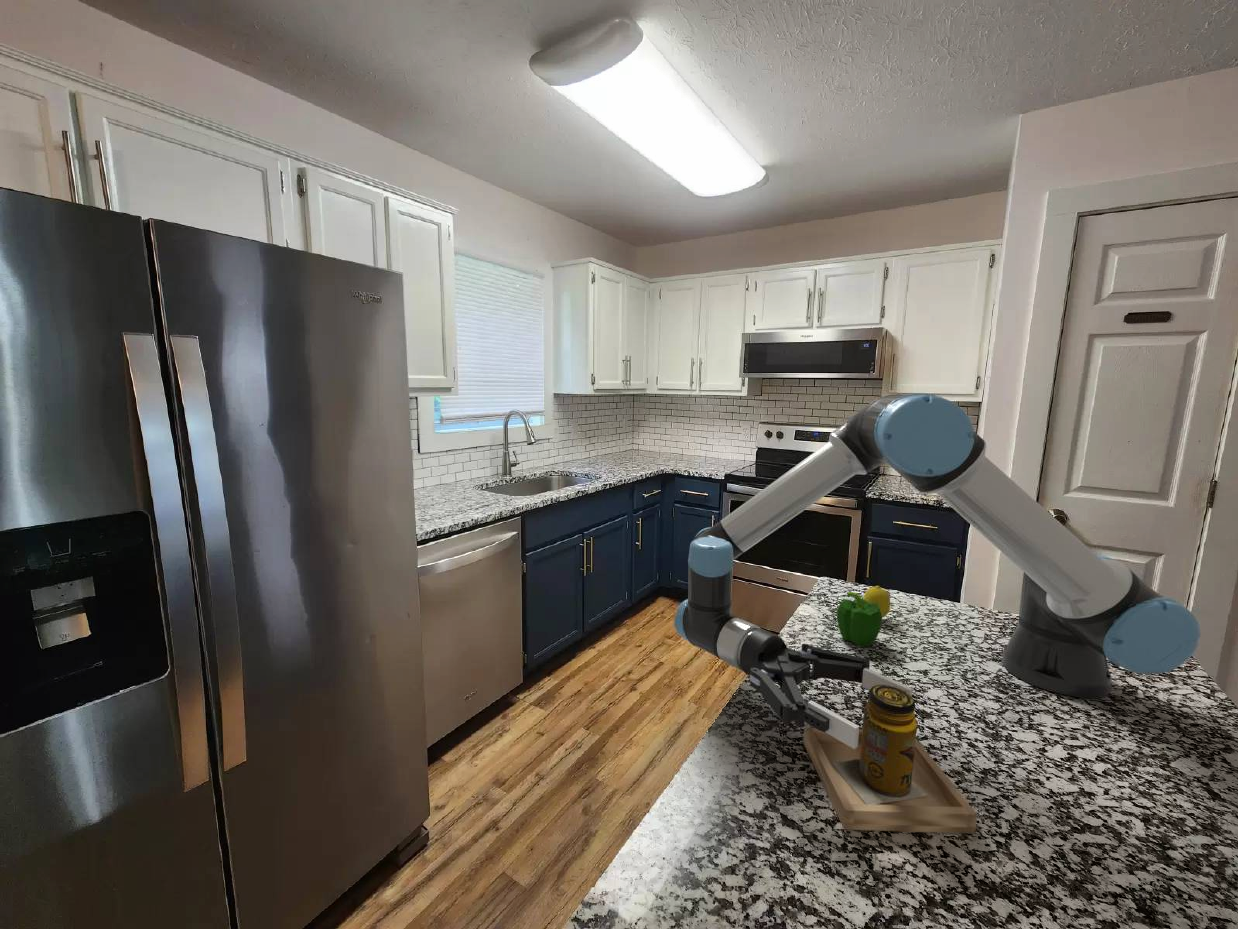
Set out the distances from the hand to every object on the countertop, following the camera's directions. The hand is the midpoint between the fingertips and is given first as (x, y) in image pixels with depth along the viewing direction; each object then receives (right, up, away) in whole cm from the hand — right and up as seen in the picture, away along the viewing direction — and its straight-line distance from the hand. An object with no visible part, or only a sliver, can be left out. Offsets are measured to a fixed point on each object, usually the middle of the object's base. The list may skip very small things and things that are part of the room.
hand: (885, 717), depth 66 cm
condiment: (0, -9, +1) cm, 9 cm away
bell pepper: (+15, -4, +41) cm, 44 cm away
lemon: (+24, -3, +50) cm, 56 cm away
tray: (0, -10, +2) cm, 10 cm away
